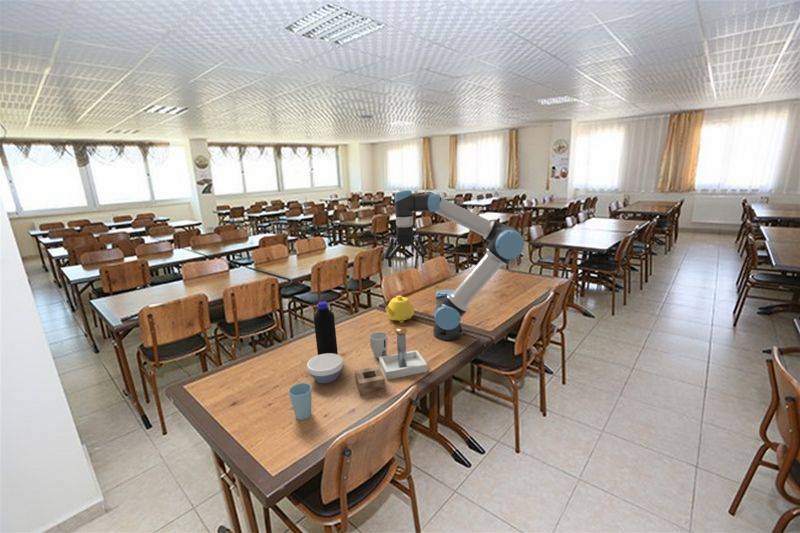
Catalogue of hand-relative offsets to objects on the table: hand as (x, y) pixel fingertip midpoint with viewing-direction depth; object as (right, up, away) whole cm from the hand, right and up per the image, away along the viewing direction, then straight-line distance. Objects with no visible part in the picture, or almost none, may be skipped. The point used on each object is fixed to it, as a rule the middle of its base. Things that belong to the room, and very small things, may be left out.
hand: (406, 272), depth 171 cm
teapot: (-4, -28, +40) cm, 49 cm away
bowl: (-33, -44, -16) cm, 57 cm away
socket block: (-15, -45, -23) cm, 52 cm away
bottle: (-35, -40, -2) cm, 54 cm away
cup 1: (-37, -50, -39) cm, 74 cm away
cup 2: (-12, -39, +1) cm, 41 cm away
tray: (-2, -41, -11) cm, 42 cm away
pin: (-2, -40, -11) cm, 42 cm away
